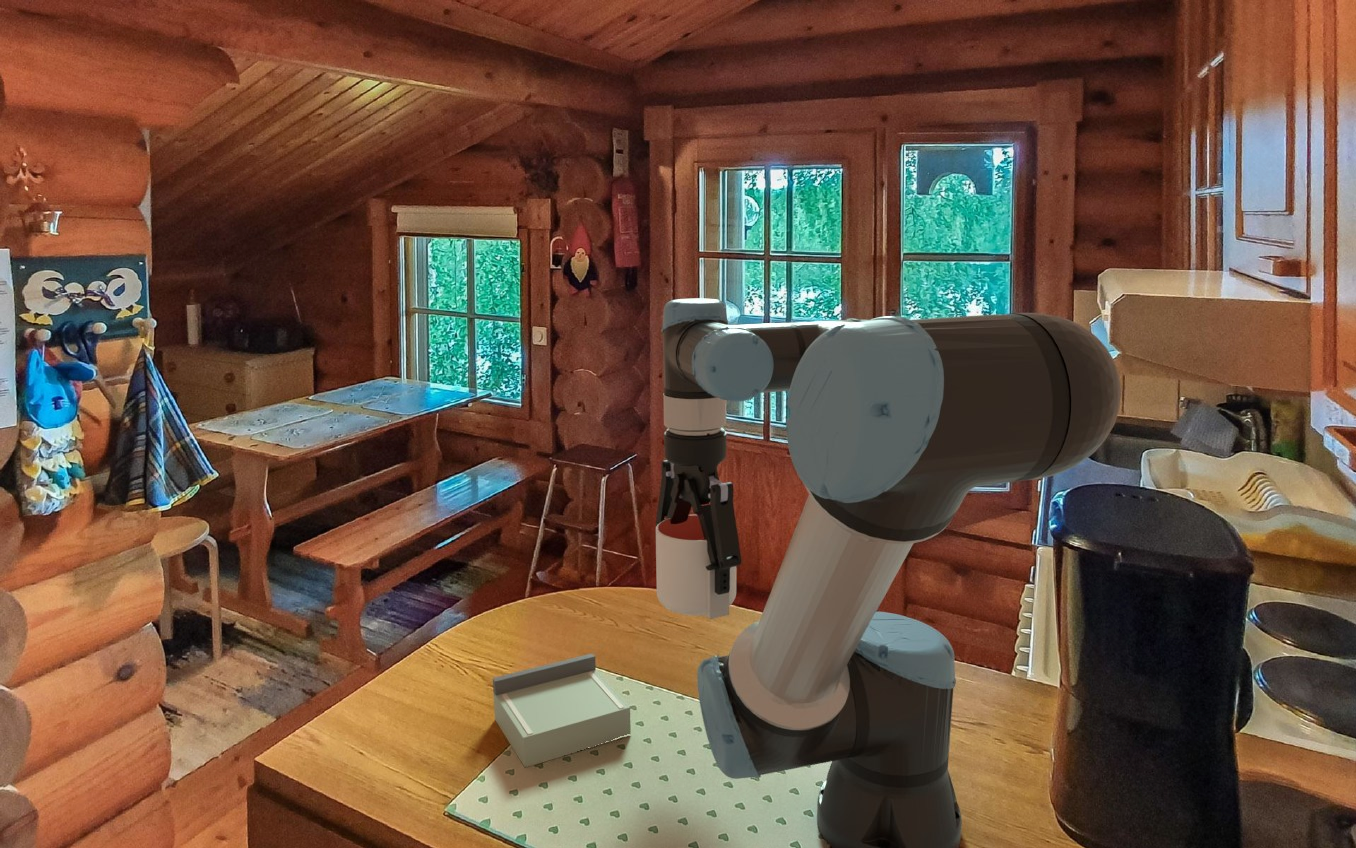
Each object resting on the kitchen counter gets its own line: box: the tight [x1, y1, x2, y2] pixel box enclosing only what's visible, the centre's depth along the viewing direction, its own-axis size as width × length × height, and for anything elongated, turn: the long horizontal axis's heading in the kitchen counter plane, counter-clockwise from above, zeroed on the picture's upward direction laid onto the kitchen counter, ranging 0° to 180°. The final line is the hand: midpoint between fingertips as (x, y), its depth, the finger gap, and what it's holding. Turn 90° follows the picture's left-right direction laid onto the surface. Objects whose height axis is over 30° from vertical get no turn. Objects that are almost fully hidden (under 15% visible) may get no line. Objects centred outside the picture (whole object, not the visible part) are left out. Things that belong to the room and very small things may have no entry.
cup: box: [655, 514, 737, 616], centre depth 113 cm, size 10×10×10 cm
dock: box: [492, 653, 632, 768], centre depth 116 cm, size 12×14×6 cm
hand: (696, 600), depth 114 cm, fingers closed on cup, 10 cm apart
